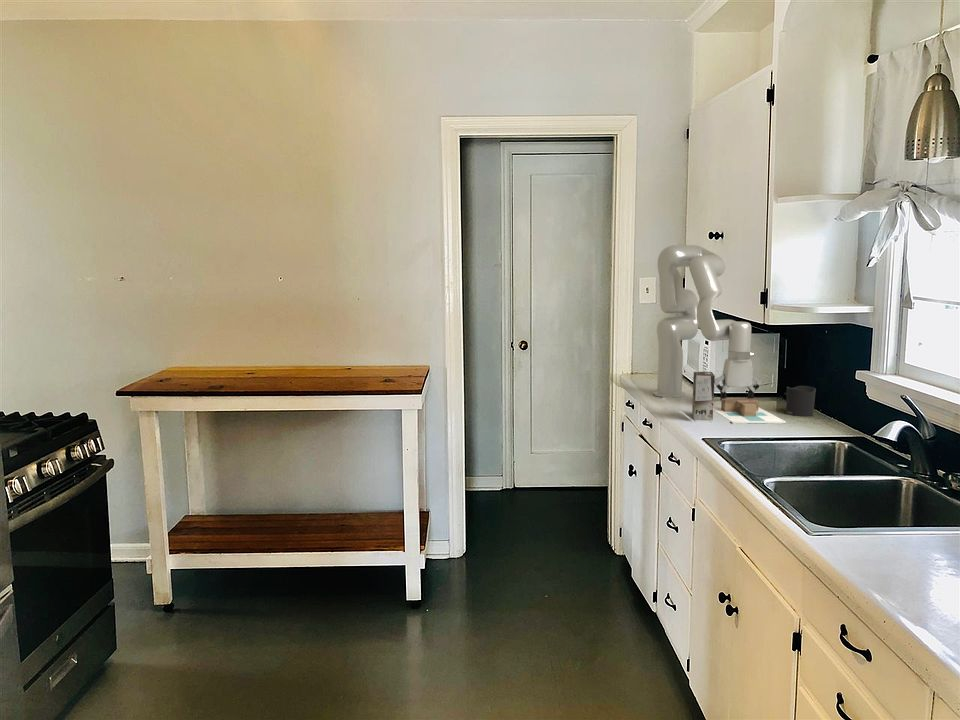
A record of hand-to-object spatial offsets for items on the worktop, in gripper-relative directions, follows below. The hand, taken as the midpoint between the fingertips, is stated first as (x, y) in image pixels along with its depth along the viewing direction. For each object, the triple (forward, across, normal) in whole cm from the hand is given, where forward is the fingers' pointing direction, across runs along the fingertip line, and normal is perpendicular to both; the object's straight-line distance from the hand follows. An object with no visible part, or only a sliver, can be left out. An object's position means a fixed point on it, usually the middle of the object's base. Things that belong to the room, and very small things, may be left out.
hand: (736, 402), depth 271 cm
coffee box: (+3, +17, +14) cm, 23 cm away
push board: (+3, 0, +5) cm, 5 cm away
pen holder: (+3, -19, +10) cm, 21 cm away
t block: (+2, 0, +8) cm, 8 cm away
